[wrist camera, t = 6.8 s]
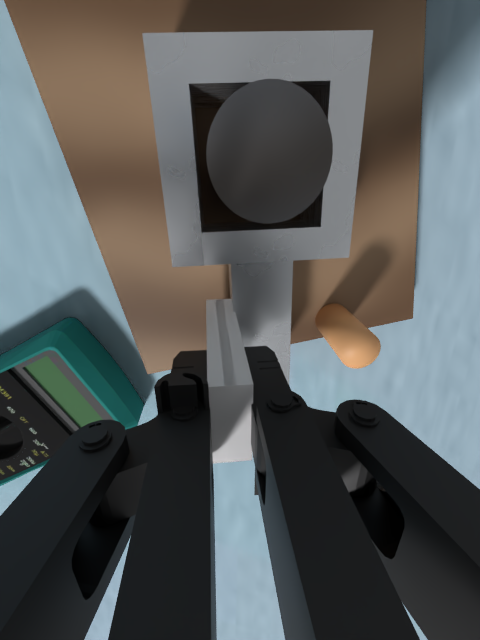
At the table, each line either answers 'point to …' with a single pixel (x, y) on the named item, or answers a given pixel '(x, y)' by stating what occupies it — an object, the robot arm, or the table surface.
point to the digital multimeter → (57, 395)
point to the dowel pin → (347, 336)
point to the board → (130, 165)
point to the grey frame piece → (184, 171)
